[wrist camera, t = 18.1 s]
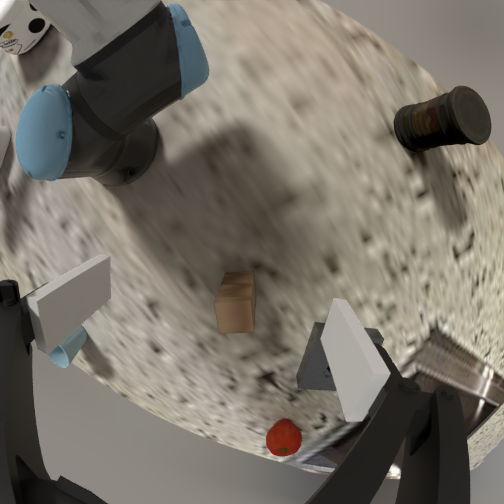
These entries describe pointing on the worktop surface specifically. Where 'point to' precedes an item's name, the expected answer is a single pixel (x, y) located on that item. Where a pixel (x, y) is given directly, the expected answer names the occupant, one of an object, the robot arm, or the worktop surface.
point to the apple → (284, 438)
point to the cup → (68, 348)
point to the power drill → (4, 142)
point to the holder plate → (322, 361)
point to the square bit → (236, 303)
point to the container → (444, 121)
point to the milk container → (20, 26)
